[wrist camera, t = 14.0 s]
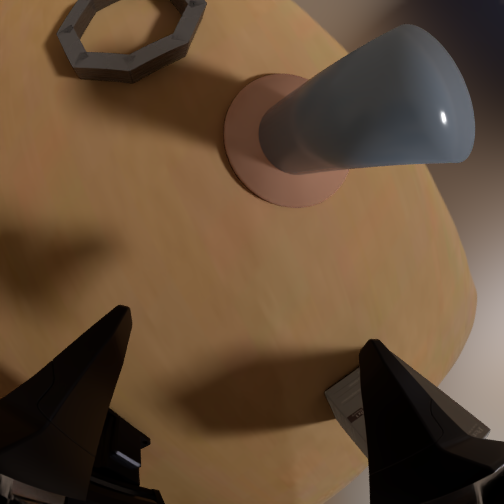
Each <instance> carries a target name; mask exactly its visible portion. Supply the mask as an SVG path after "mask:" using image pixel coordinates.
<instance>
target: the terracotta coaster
mask: <svg viewBox="0 0 504 504" xmlns="http://www.w3.org/2000/svg"><path fill="white" fill-rule="evenodd" d="M306 81H308V79H305V78H302V77H300V76H295V75H290V74H273V75H267V76H264V77H261V78H258V79H256V80H254V81H252V82H251V83H249V84H248V85H247V86H245V87H244V88H243V89H242V90H241V91H240V92H239V93H238V95H237V96H236V97H235V99H234V100H233V101H232V103H231V105H230V107H229V109H228V111H227V114H226V117H225V122H224V130H223V138H224V146H225V151H226V155H227V157H228V160H229V163H230V165H231V167H232V168H233V170H234V172H235V174H236V175H237V176H238V178H239V179H240V181H241V182H242V183H243V184H244V185H245V186H246V187H247V188H248V189H249V190H250V191H252V192H253V193H254V194H255V195H257V196H258V197H260V198H261V199H263V200H265V201H268V202H270V203H272V204H276V205H279V206H284V207H294V208H301V207H308V206H312V205H316V204H318V203H320V202H323V201H324V200H326V199H327V198H329V197H330V196H331V195H333V194H334V193H335V192H336V191H337V190H338V189H339V188H340V186H341V185H342V183H343V182H344V180H345V178H346V176H347V174H348V172H349V169H345V170H336V171H327V172H319V173H311V174H304V175H292V174H288V173H285V172H283V171H281V170H279V169H278V168H276V167H275V166H274V165H272V164H271V162H270V161H269V160H268V159H267V158H266V156H265V155H264V153H263V151H262V149H261V146H260V142H259V133H258V132H259V125H260V122H261V119H262V117H263V115H264V114H265V113H266V111H267V110H268V109H270V108H271V107H272V106H273V105H275V104H276V103H277V102H279V101H280V100H281V99H283V98H284V97H285V96H287V95H288V94H290V93H291V92H292V91H294V90H295V89H296V88H298V87H299V86H301V85H302V84H304V83H305V82H306Z"/></svg>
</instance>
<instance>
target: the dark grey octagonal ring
mask: <svg viewBox="0 0 504 504" xmlns="http://www.w3.org/2000/svg"><path fill="white" fill-rule="evenodd" d="M117 1H119V0H78V1H77V2H76V4H75V5H74V7H73V8H72V10H71V11H70V13H69V14H68V16H67V17H66V19H65V20H64V22H63V24H62V25H61V27H60V29H59V30H58V32H57V36H58V38H59V40H60V43H61V45H62V47H63V49H64V51H65V53H66V55H67V57H68V59H69V61H70V63H71V65H72V67H73V69H74V70H75V72H76V73H77V75H78V76H79V78H80V79H89V80H103V81H114V82H124V83H135V82H136V81H138V80H140V79H142V78H143V77H145V76H147V75H149V74H151V73H153V72H155V71H156V70H158V69H160V68H162V67H164V66H166V65H168V64H170V63H173V62H175V61H177V60H179V59H181V58H183V57H185V56H186V54H187V52H188V49H189V47H190V45H191V42H192V40H193V38H194V35H195V33H196V31H197V29H198V26H199V24H200V22H201V20H202V17H203V14H204V11H205V8H206V5H207V3H206V1H205V0H170V1H171V2H172V4H173V5H174V6H175V7H176V8H177V10H178V11H179V12H180V13H181V15H182V17H181V19H180V21H179V23H178V25H177V27H176V29H175V31H174V33H173V34H171V35H169V36H167V37H164V38H162V39H160V40H158V41H155V42H153V43H151V44H149V45H147V46H145V47H143V48H141V49H139V50H137V51H135V52H133V53H131V54H129V55H127V54H115V53H98V52H86V50H85V49H84V47H83V45H82V43H81V41H80V39H81V37H82V35H83V33H84V31H85V30H86V28H87V26H88V25H89V23H90V21H91V20H92V18H93V16H94V15H95V13H96V12H97V11H99V10H101V9H103V8H105V7H107V6H109V5H111V4H113V3H115V2H117Z"/></svg>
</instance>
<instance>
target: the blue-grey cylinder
mask: <svg viewBox="0 0 504 504" xmlns="http://www.w3.org/2000/svg"><path fill="white" fill-rule="evenodd" d="M258 133H259V142H260V146H261V149H262V151H263V153H264V155H265V156H266V158H267V159H268V160H269V161H270V162H271V164H272V165H274V166H275V167H276V168H278V169H279V170H281V171H283V172H285V173H288V174H292V175H304V174H311V173H319V172H327V171H336V170H345V169H355V168H366V167H377V166H391V165H406V164H426V163H459V162H462V161H464V160H465V159H466V158H467V157H468V156H469V154H470V153H471V150H472V148H473V143H474V137H475V120H474V112H473V107H472V103H471V99H470V95H469V92H468V89H467V87H466V84H465V82H464V79H463V77H462V75H461V73H460V71H459V69H458V68H457V66H456V64H455V62H454V61H453V59H452V58H451V56H450V55H449V54H448V52H447V51H446V50H445V49H444V47H443V46H442V45H441V44H440V43H439V42H438V41H437V40H436V39H435V38H434V37H433V36H432V35H430V34H429V33H428V32H426V31H425V30H423V29H421V28H420V27H417V26H415V25H411V24H404V25H400V26H398V27H397V28H395V29H392V30H390V31H389V32H387V33H385V34H383V35H381V36H379V37H377V38H376V39H374V40H372V41H370V42H368V43H367V44H365V45H363V46H361V47H360V48H358V49H357V50H355V51H353V52H351V53H350V54H348V55H346V56H345V57H343V58H341V59H340V60H338V61H337V62H335V63H333V64H332V65H330V66H329V67H327V68H326V69H324V70H323V71H321V72H320V73H318V74H317V75H315V76H314V77H312V78H311V79H309V80H308V81H306V82H305V83H304V84H302V85H301V86H299V87H298V88H296V89H295V90H294V91H292V92H291V93H290V94H288V95H287V96H285V97H284V98H283V99H281V100H280V101H279V102H277V103H276V104H275V105H273V106H272V107H271V108H270V109H268V110H267V111H266V113H265V114H264V115H263V117H262V119H261V122H260V125H259V132H258Z"/></svg>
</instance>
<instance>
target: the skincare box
mask: <svg viewBox="0 0 504 504" xmlns="http://www.w3.org/2000/svg"><path fill="white" fill-rule="evenodd" d="M390 352H391V351H390ZM391 353H392V352H391ZM392 354H393V353H392ZM393 355H394V356H395V357H396V358H397V359H398V361H399V362H400V363H401V364H402V365H403V366H404V367H405V368H406V369H407V370H408V372H409V373H410V374H411V375H412V376H413V377H414V378H415V379H416V380H417V382H418V383H419V384H420V385H421V386H422V387H423V388H424V389H425V391H426V392H427V393H428V394H429V395H430V396H431V398H433V400H434V401H435V402H436V403H437V404H438V405H439V406H440V407H441V409H442V410H443V411H444V412H445V413H446V414H447V415H448V416H449V417H450V418H451V419H452V420H453V421H454V422H455V423H456V424H457V425H458V426H459V427H460V428H461V429H463V430H464V431H465V432H466V433H467V434H469V435H471V436H473V437H477V438H482V439H486V438H487V436H488V435H489V433H490V429H489V428H488V427H487V426H485V425H484V424H483V423H482V422H481V421H479V420H478V419H477V418H476V417H474V416H473V415H472V414H470V413H469V412H468V411H467V410H465V409H464V408H463V407H462V406H460V405H459V404H458V403H457V402H455V401H454V400H452V399H451V398H450V397H449V396H448V395H446V394H445V393H444V392H442V391H441V390H440V389H439V388H437V387H436V386H435V385H433V384H432V383H431V382H430V381H428V380H427V379H426V378H424V377H423V376H422V375H421V374H419V373H418V372H417V371H415V370H414V369H413V368H411V367H410V366H409V365H408V364H406V363H405V362H404V361H403V360H401V359H400V358H399V357H397V356H396V355H395V354H393ZM325 395H326V398H327V400H328V402H329V404H330V407H331V409H332V411H333V414H334V416H335V418H336V420H337V421H338V422H339V424H340V425H341V426H342V428H343V429H344V430H345V431H346V433H347V434H348V435H349V436H350V438H351V439H352V440H353V441H354V442H355V444H356V445H357V446H358V447H359V448H360V450H361V451H362V452H363V453H364V455H365V456H366V457H367V458H368V450H367V439H366V429H365V420H364V411H363V403H362V396H361V386H360V367H359V368H357V369H356V370H355V371H354V372H352V373H351V374H349V375H348V376H347V377H345V378H344V379H342V380H341V381H340V382H338V383H337V384H335V385H334V386H333V387H331V388H330V389H328V390H327V391H325Z"/></svg>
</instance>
